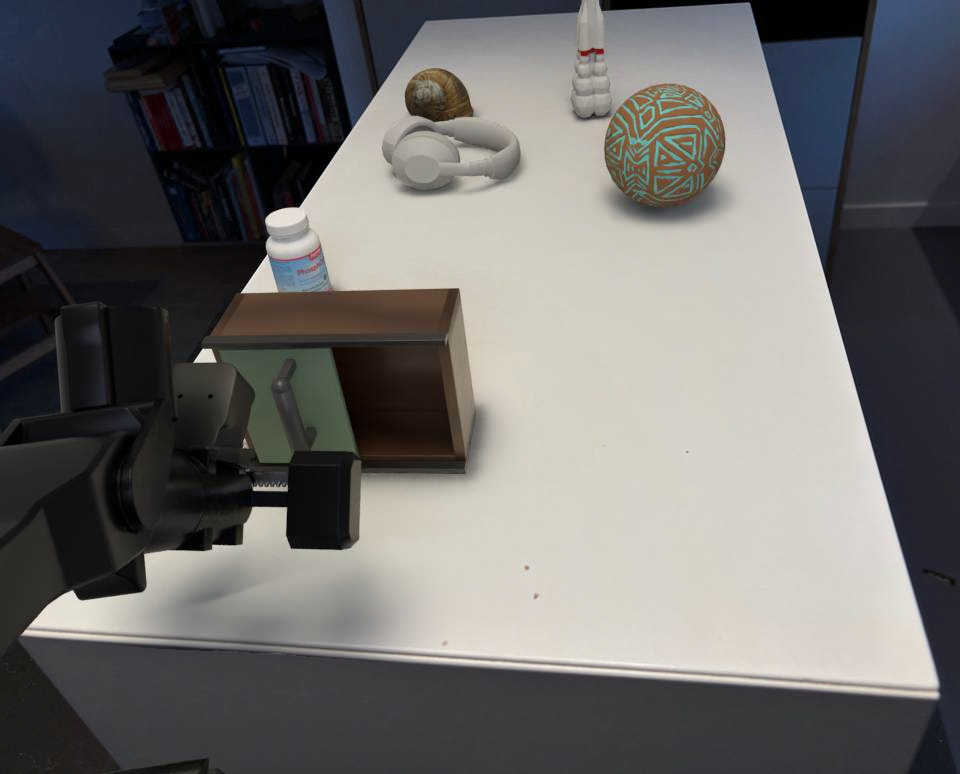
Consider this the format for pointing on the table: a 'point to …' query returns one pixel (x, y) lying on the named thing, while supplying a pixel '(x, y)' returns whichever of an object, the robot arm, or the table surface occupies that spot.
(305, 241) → the pill bottle
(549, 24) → the table surface
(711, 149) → the decorative sphere
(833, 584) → the table surface
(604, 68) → the rocket model
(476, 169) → the headphones
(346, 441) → the sliding door
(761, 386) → the table surface
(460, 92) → the seashell
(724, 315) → the table surface
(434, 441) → the cupboard
